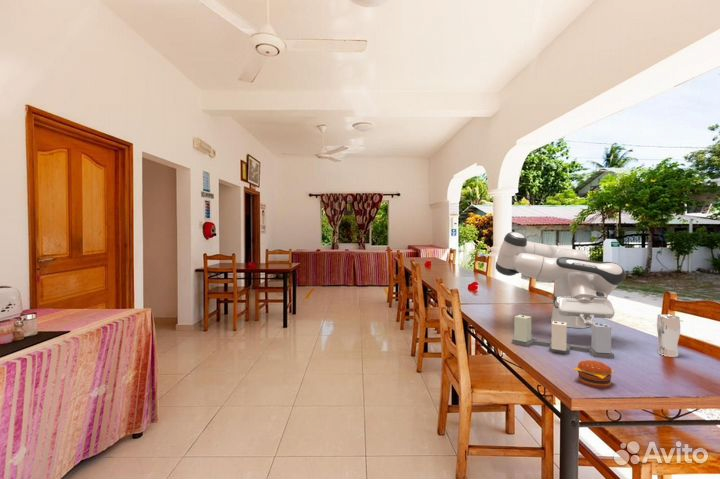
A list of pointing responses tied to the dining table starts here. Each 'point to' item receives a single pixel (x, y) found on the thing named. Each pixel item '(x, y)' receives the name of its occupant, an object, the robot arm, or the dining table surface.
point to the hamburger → (594, 374)
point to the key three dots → (601, 338)
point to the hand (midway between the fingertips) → (588, 325)
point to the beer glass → (668, 334)
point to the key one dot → (522, 328)
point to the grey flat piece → (569, 347)
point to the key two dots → (559, 335)
